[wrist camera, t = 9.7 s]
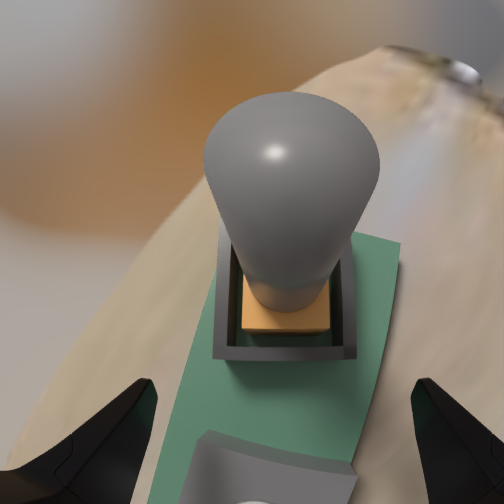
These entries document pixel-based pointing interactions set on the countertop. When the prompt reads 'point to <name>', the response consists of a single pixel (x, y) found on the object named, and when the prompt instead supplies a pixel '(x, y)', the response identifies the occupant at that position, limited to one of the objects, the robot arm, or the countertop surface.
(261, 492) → the grey button box
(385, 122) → the countertop surface
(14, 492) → the robot arm
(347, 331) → the frame
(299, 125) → the plug
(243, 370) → the board
